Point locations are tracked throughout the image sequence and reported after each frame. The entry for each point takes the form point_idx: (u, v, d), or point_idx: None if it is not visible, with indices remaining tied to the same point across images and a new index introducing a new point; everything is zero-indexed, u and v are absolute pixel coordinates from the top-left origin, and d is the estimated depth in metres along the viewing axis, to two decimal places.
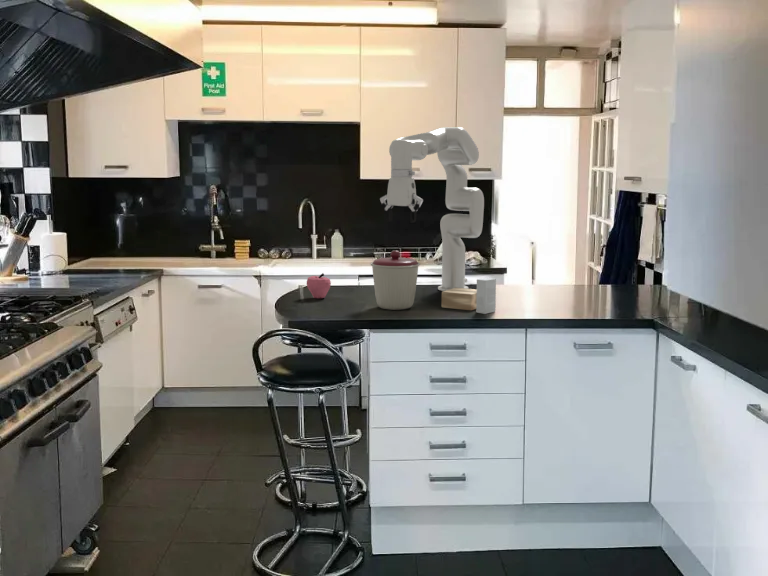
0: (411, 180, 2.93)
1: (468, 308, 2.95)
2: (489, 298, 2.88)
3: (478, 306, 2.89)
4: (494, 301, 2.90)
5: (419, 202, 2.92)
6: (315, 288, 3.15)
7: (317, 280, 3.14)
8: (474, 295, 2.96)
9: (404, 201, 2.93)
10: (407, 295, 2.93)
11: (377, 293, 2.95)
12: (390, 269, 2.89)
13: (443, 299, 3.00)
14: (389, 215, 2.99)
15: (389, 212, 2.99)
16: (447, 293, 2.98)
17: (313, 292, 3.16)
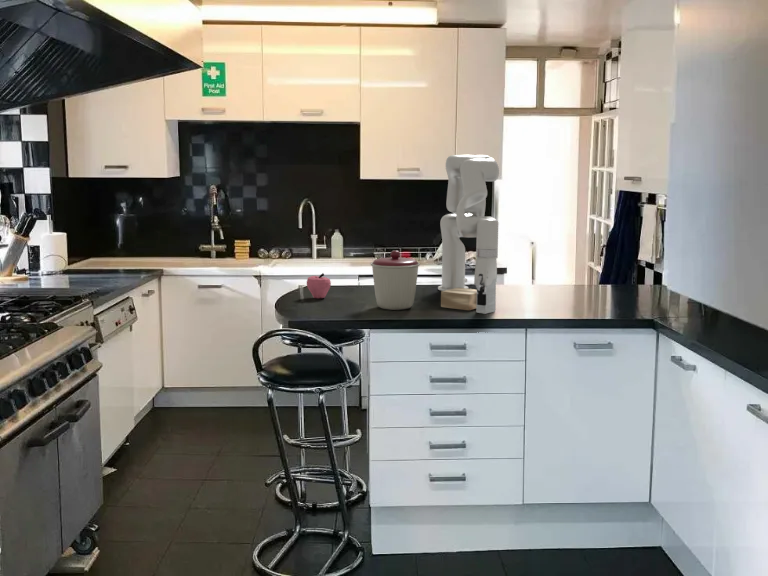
0: None
1: (466, 308, 2.95)
2: (489, 298, 2.88)
3: (478, 306, 2.89)
4: (494, 301, 2.90)
5: None
6: (315, 288, 3.15)
7: (317, 280, 3.14)
8: (472, 295, 2.96)
9: None
10: (407, 295, 2.93)
11: (377, 293, 2.95)
12: (390, 269, 2.89)
13: (442, 299, 3.00)
14: None
15: None
16: (446, 293, 2.99)
17: (313, 292, 3.16)
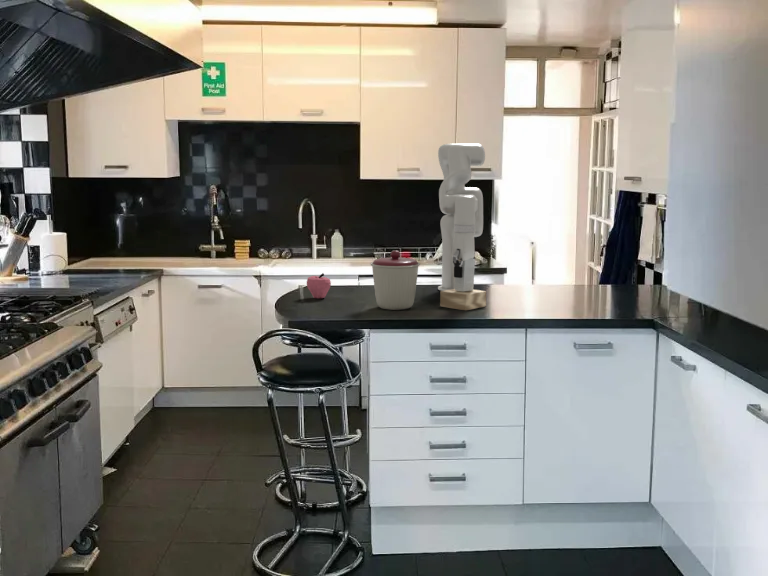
0: None
1: (463, 308, 2.95)
2: (468, 277, 2.99)
3: (457, 284, 3.00)
4: (472, 280, 3.01)
5: (474, 254, 3.06)
6: (315, 288, 3.15)
7: (317, 280, 3.14)
8: (470, 296, 2.95)
9: (472, 255, 3.01)
10: (407, 295, 2.93)
11: (377, 293, 2.95)
12: (390, 269, 2.89)
13: (441, 298, 3.02)
14: None
15: None
16: (445, 293, 3.00)
17: (313, 292, 3.16)
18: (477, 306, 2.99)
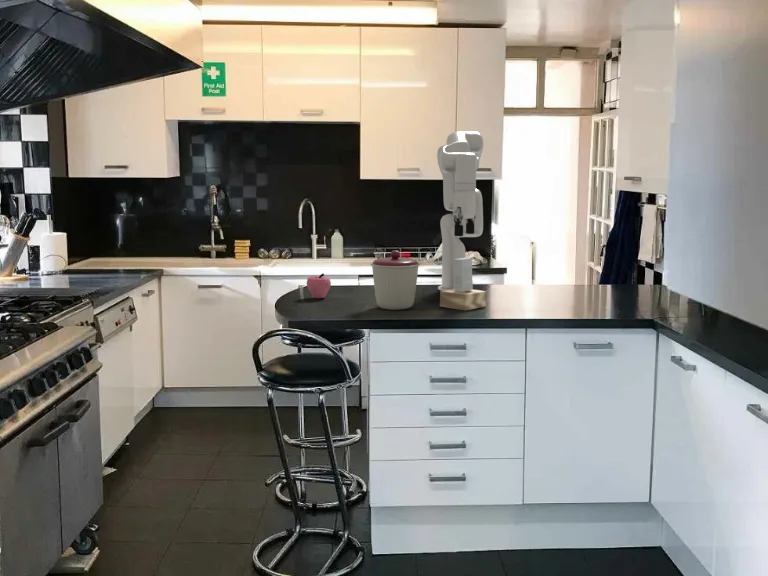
0: None
1: (463, 308, 2.95)
2: (466, 276, 2.99)
3: (456, 285, 3.00)
4: (471, 280, 3.01)
5: (475, 213, 3.04)
6: (315, 288, 3.15)
7: (317, 280, 3.14)
8: (470, 296, 2.95)
9: (473, 214, 2.99)
10: (407, 295, 2.93)
11: (377, 293, 2.95)
12: (390, 269, 2.89)
13: (441, 298, 3.01)
14: None
15: None
16: (445, 293, 3.00)
17: (313, 292, 3.16)
18: (477, 306, 2.99)
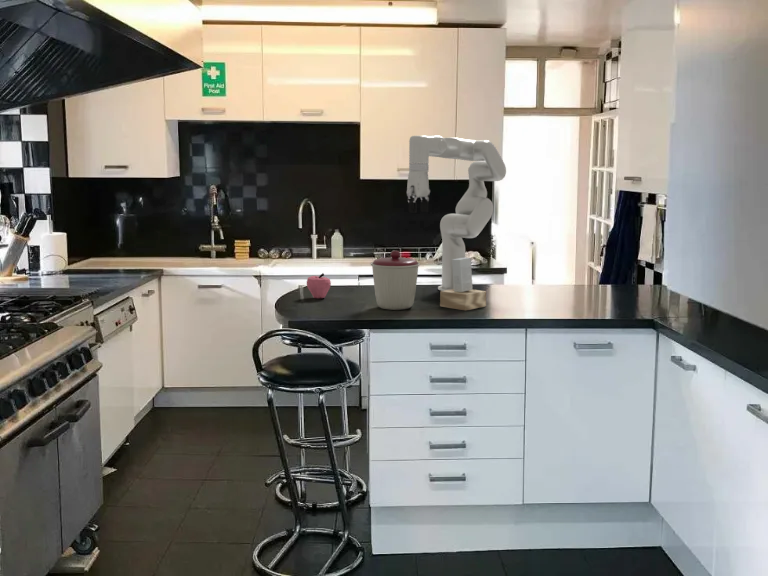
0: None
1: (463, 308, 2.95)
2: (465, 276, 2.99)
3: (455, 285, 3.00)
4: (470, 279, 3.01)
5: (429, 192, 3.25)
6: (315, 288, 3.15)
7: (317, 280, 3.14)
8: (470, 296, 2.95)
9: (426, 192, 3.19)
10: (407, 295, 2.93)
11: (377, 293, 2.95)
12: (390, 269, 2.89)
13: (441, 298, 3.01)
14: None
15: None
16: (445, 293, 3.00)
17: (313, 292, 3.16)
18: (477, 306, 2.99)
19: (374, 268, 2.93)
